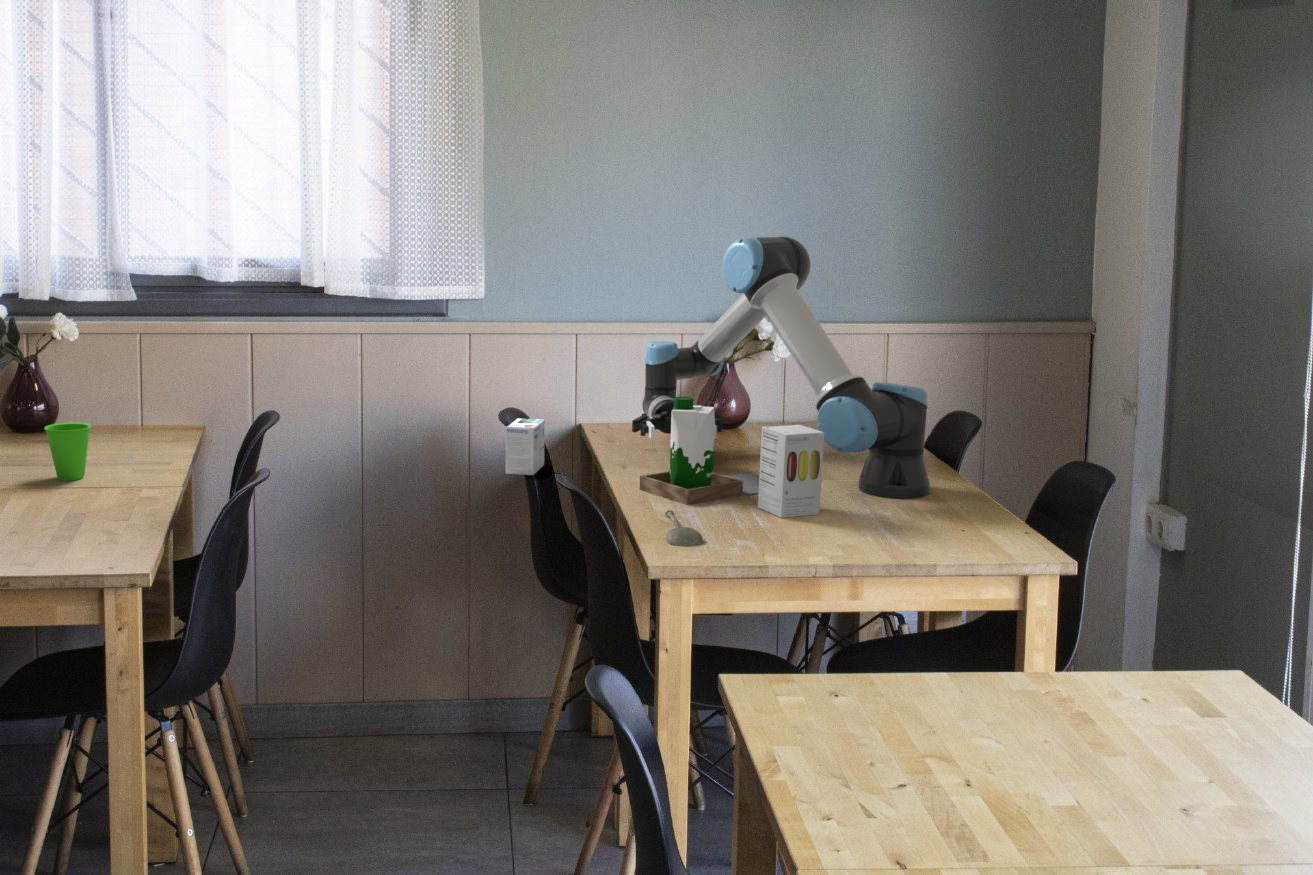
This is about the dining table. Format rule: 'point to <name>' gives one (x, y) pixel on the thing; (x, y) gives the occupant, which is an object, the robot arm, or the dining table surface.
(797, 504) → the supplement box
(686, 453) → the soya milk
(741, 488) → the walnut frame
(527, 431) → the light bulb box
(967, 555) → the dining table surface
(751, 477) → the rubber mat
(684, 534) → the soupspoon
